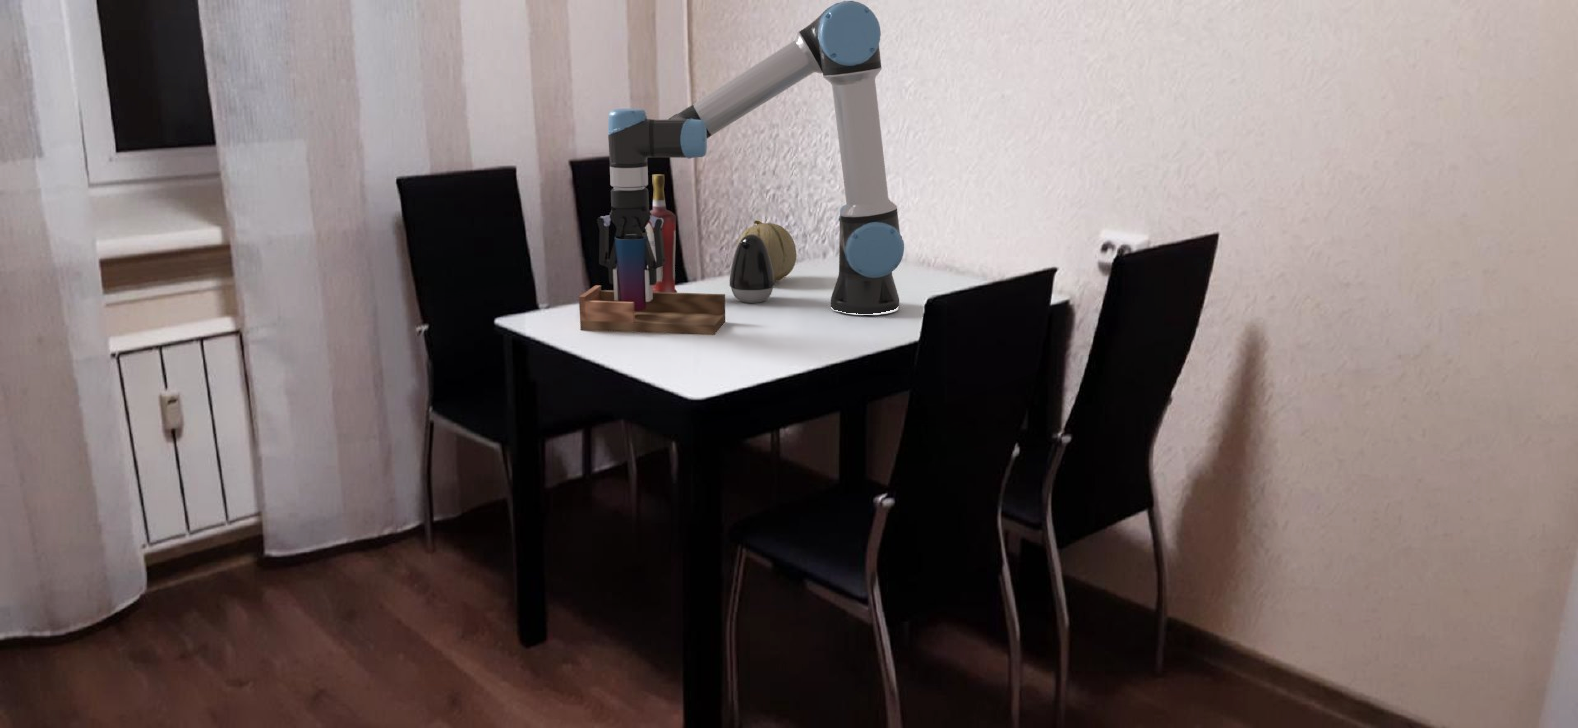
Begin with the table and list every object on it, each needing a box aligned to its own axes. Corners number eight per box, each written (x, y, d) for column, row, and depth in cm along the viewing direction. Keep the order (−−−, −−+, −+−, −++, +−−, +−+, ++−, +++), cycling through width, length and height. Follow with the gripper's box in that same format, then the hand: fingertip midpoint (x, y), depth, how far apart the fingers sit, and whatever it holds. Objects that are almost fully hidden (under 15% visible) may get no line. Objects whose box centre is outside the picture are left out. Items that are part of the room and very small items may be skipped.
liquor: (639, 297, 266) (635, 174, 258) (666, 292, 270) (663, 172, 262) (657, 302, 260) (652, 178, 253) (684, 298, 265) (681, 175, 257)
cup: (644, 313, 236) (641, 240, 231) (612, 311, 237) (609, 239, 233) (654, 305, 242) (652, 234, 238) (623, 304, 243) (620, 233, 239)
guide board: (725, 322, 243) (724, 289, 241) (714, 335, 233) (713, 301, 231) (596, 317, 247) (595, 285, 245) (580, 330, 237) (578, 296, 235)
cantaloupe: (787, 290, 272) (787, 227, 268) (728, 287, 276) (727, 224, 272) (803, 278, 286) (804, 218, 282) (747, 274, 290) (746, 215, 286)
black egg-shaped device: (721, 303, 260) (720, 236, 255) (741, 294, 269) (740, 229, 265) (763, 307, 256) (763, 239, 252) (781, 297, 265) (781, 232, 261)
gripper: (679, 186, 235) (682, 297, 241) (589, 184, 237) (594, 294, 244) (670, 191, 228) (673, 305, 234) (578, 189, 230) (583, 302, 237)
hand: (633, 299), depth 239 cm, fingers closed on cup, 6 cm apart
